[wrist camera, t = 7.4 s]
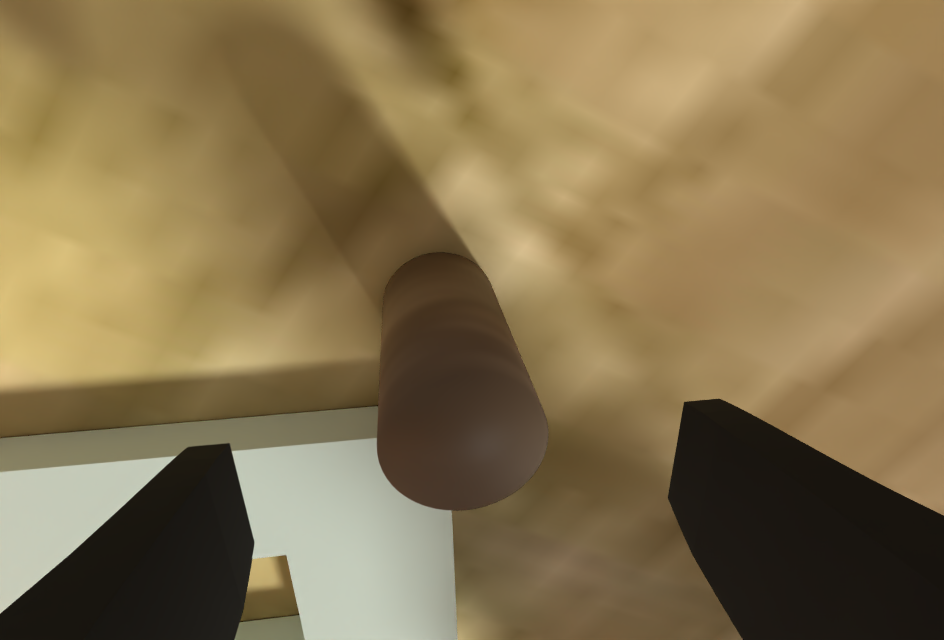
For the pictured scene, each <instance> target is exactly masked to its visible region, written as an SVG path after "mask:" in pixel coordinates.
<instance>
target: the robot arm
mask: <svg viewBox="0 0 944 640" xmlns="http://www.w3.org/2000/svg"><path fill="white" fill-rule="evenodd" d="M668 500H669V502H670V504H671V507H672V509H673V511H674V514H675V516H676V519H677V521H678V523H679V526H680V528H681V530H682V533H683V535H684V537H685V539H686V541H687V544H688V546H689V548H690V550H691V552H692V555H693V556H694V558H695V560H696V562H697V563H698V565H699V567H700V569H701V570H702V572H703V574H704V575H705V577H706V579H707V580H708V582H709V584H710V586H711V587H712V589H713V591H714V592H715V594H716V596H717V597H718V599H719V601H720V602H721V604H722V606H723V607H724V609H725V611H726V612H727V614H728V616H729V617H730V619H731V621H732V622H733V624H734V626H735V627H736V629H737V631H738V632H739V634H740V636H741V637H742V639H743V640H944V516H943V515H941V514H939V513H937V512H935V511H933V510H931V509H929V508H927V507H925V506H923V505H921V504H919V503H917V502H915V501H913V500H911V499H909V498H907V497H905V496H903V495H901V494H899V493H896V492H894V491H893V490H891V489H889V488H887V487H885V486H883V485H881V484H879V483H877V482H875V481H873V480H871V479H869V478H867V477H866V476H864V475H862V474H860V473H858V472H856V471H854V470H852V469H850V468H849V467H847V466H845V465H843V464H841V463H839V462H838V461H836V460H834V459H832V458H830V457H828V456H826V455H825V454H823V453H821V452H819V451H817V450H816V449H814V448H812V447H810V446H808V445H806V444H805V443H803V442H801V441H799V440H797V439H796V438H794V437H792V436H790V435H788V434H787V433H785V432H783V431H781V430H779V429H777V428H776V427H774V426H772V425H770V424H768V423H767V422H765V421H763V420H761V419H759V418H757V417H755V416H753V415H752V414H750V413H748V412H746V411H744V410H742V409H740V408H738V407H736V406H734V405H732V404H730V403H728V402H726V401H723V400H721V399H711V400H700V401H689V402H684V406H683V412H682V418H681V423H680V429H679V435H678V441H677V447H676V453H675V459H674V464H673V470H672V476H671V482H670V488H669V494H668ZM254 544H255V542H254V538H253V534H252V530H251V526H250V522H249V518H248V514H247V510H246V506H245V502H244V498H243V494H242V490H241V486H240V482H239V478H238V474H237V470H236V466H235V462H234V458H233V454H232V450H231V446H230V443H224V444H213V445H202V446H191V447H187V448H186V449H185V450H183V451H182V452H181V453H180V454H179V455H178V456H176V457H175V458H174V459H173V460H172V461H171V462H170V463H169V464H168V465H166V466H165V467H164V468H163V469H162V470H161V471H160V472H159V473H158V474H157V475H156V476H155V477H153V478H152V479H151V480H150V481H149V482H148V483H147V484H146V485H145V486H144V487H143V488H142V489H141V490H140V491H139V492H137V493H136V494H135V495H134V496H133V497H132V498H131V499H130V500H129V501H128V502H127V503H126V504H125V505H124V506H122V507H121V508H120V509H119V510H118V511H117V512H116V513H115V514H114V515H113V516H111V517H110V518H109V519H108V520H107V521H106V522H105V523H104V524H103V525H102V526H100V527H99V528H98V529H97V530H96V531H95V532H94V533H93V534H92V535H91V536H90V537H88V538H87V539H86V540H85V541H84V542H83V543H82V544H81V545H80V546H79V547H77V548H76V549H75V550H74V551H73V552H72V553H71V554H70V555H69V556H67V557H66V558H65V559H64V560H63V561H61V562H60V563H59V564H58V565H57V566H56V567H54V568H53V569H52V570H51V571H50V572H49V573H47V574H46V575H45V576H44V577H43V578H41V579H40V580H39V581H38V582H37V583H36V584H34V585H33V586H32V587H31V588H30V589H28V590H27V591H26V592H25V593H24V594H23V595H21V596H20V597H19V598H18V599H17V600H16V601H14V602H13V603H12V604H11V605H10V606H8V607H7V608H6V609H5V610H4V611H3V612H1V613H0V640H235V636H236V633H237V630H238V626H239V623H240V619H241V616H242V612H243V608H244V603H245V597H246V592H247V587H248V581H249V575H250V569H251V563H252V556H253V550H254Z"/></svg>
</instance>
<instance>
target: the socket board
mask: <svg viewBox="0 0 944 640" xmlns="http://www.w3.org/2000/svg"><path fill="white" fill-rule="evenodd" d="M377 425H378V406H374V407H362V408H350V409H338V410H326V411H315V412H303V413H291V414H279V415H268V416H256V417H244V418H232V419H221V420H209V421H197V422H185V423H174V424H162V425H150V426H138V427H126V428H115V429H103V430H91V431H79V432H68V433H56V434H44V435H32V436H21V437H9V438H0V613H1V612H3V611H4V610H5V609H6V608H7V607H8V606H10V605H11V604H12V603H13V602H14V601H16V600H17V599H18V598H19V597H20V596H21V595H23V594H24V593H25V592H26V591H27V590H28V589H30V588H31V587H32V586H33V585H34V584H36V583H37V582H38V581H39V580H40V579H41V578H43V577H44V576H45V575H46V574H47V573H49V572H50V571H51V570H52V569H53V568H54V567H56V566H57V565H58V564H59V563H60V562H61V561H63V560H64V559H65V558H66V557H67V556H69V555H70V554H71V553H72V552H73V551H74V550H75V549H76V548H77V547H79V546H80V545H81V544H82V543H83V542H84V541H85V540H86V539H87V538H88V537H90V536H91V535H92V534H93V533H94V532H95V531H96V530H97V529H98V528H99V527H100V526H102V525H103V524H104V523H105V522H106V521H107V520H108V519H109V518H110V517H111V516H113V515H114V514H115V513H116V512H117V511H118V510H119V509H120V508H121V507H122V506H124V505H125V504H126V503H127V502H128V501H129V500H130V499H131V498H132V497H133V496H134V495H135V494H136V493H137V492H139V491H140V490H141V489H142V488H143V487H144V486H145V485H146V484H147V483H148V482H149V481H150V480H151V479H152V478H153V477H155V476H156V475H157V474H158V473H159V472H160V471H161V470H162V469H163V468H164V467H165V466H166V465H168V464H169V463H170V462H171V461H172V460H173V459H174V458H175V457H176V456H178V455H179V454H180V453H181V452H182V451H183V450H185V449H186V448H187V447H191V446H202V445H213V444H224V443H230V446H231V450H232V454H233V458H234V462H235V466H236V470H237V474H238V478H239V482H240V486H241V490H242V494H243V498H244V502H245V506H246V510H247V514H248V518H249V522H250V526H251V530H252V534H253V538H254V542H255V544H254V550H253V556H252V559H256V558H265V557H274V556H283V555H286V556H287V560H288V565H289V570H290V574H291V579H292V583H293V588H294V592H295V597H296V602H297V606H298V611H299V615H296V616H288V617H280V618H272V619H263V620H255V621H247V622H240V623H239V626H238V630H237V633H236V636H235V640H458V638H457V616H456V593H455V571H454V549H453V526H452V510H441V509H434V508H431V507H427V506H424V505H421V504H419V503H416V502H414V501H412V500H410V499H408V498H407V497H405V496H404V495H403V494H401V493H400V492H399V491H397V490H396V489H395V488H394V487H393V486H392V485H391V483H390V482H389V481H388V480H387V478H386V477H385V475H384V473H383V471H382V469H381V466H380V464H379V460H378V455H377Z"/></svg>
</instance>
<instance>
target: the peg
mask: <svg viewBox="0 0 944 640" xmlns="http://www.w3.org/2000/svg"><path fill="white" fill-rule="evenodd" d="M547 444H548V424H547V419H546V416H545V414H544V411H543V408H542V406H541V404H540V401H539V399H538V396H537V394H536V392H535V389H534V387H533V384H532V382H531V380H530V377H529V375H528V372H527V370H526V368H525V365H524V363H523V360H522V358H521V356H520V353H519V351H518V348H517V346H516V344H515V341H514V339H513V336H512V334H511V331H510V329H509V327H508V324H507V322H506V319H505V317H504V315H503V312H502V310H501V307H500V305H499V303H498V300H497V298H496V295H495V293H494V291H493V288H492V286H491V283H490V281H489V280H488V278H487V276H486V275H485V273H484V272H483V271H482V270H481V269H480V268H479V267H478V266H477V265H476V264H474V263H473V262H472V261H470V260H468V259H466V258H464V257H462V256H459V255H455V254H452V253H429V254H425V255H421V256H419V257H416V258H414V259H412V260H410V261H408V262H407V263H405V264H404V265H403V266H401V267H400V268H399V269H398V270H397V271H396V272H395V274H394V275H393V276H392V277H391V279H390V281H389V282H388V284H387V287H386V289H385V293H384V297H383V308H382V332H381V355H380V378H379V402H378V425H377V455H378V460H379V464H380V466H381V469H382V471H383V473H384V475H385V477H386V478H387V480H388V481H389V482H390V483H391V485H392V486H393V487H394V488H395V489H396V490H397V491H399V492H400V493H401V494H403V495H404V496H405V497H407V498H408V499H410V500H412V501H414V502H416V503H419V504H421V505H424V506H427V507H431V508H434V509H441V510H453V511H458V510H470V509H476V508H480V507H484V506H488V505H490V504H493V503H496V502H498V501H500V500H502V499H504V498H506V497H508V496H509V495H511V494H513V493H514V492H516V491H517V490H518V489H519V488H521V487H522V486H523V485H524V484H525V483H526V482H527V481H528V480H529V479H530V478H531V477H532V476H533V474H534V473H535V472H536V470H537V469H538V467H539V466H540V464H541V462H542V460H543V458H544V455H545V452H546V449H547Z"/></svg>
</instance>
